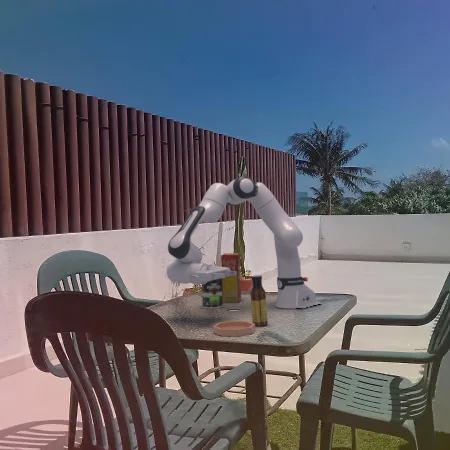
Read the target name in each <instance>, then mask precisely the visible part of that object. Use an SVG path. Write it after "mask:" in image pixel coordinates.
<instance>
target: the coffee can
mask: <svg viewBox="0 0 450 450" xmlns="http://www.w3.org/2000/svg"><path fill="white" fill-rule="evenodd" d="M201 300H202V301H201V302H202V303H201V305H202V306H201V308H202V309H208V310H209V309H210V310H213V309H221V308H223V307H224V305H223V304H224V303H222V278H220V279H216V280H212V281H208V282H207V283H206V284H201Z"/></svg>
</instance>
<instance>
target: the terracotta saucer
mask: <svg viewBox="0 0 450 450" xmlns="http://www.w3.org/2000/svg"><path fill="white" fill-rule="evenodd" d="M255 331H256V326H255V324H254V323H253V322H252V321H251V322H250V321H246V320H229V321H223V322H217V323H216V324H215V325H213V326H212V333H213V334H214V333H216V334H215V335H217V334H218V336H219V335H221V336H220V337H232V336H238V337H243V335H244V336H249V335H252V334H254V332H255Z"/></svg>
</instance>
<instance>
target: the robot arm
mask: <svg viewBox="0 0 450 450" xmlns="http://www.w3.org/2000/svg"><path fill="white" fill-rule="evenodd" d="M246 201H247V202H249V203H250V204H251V205H252V206H253V208H254V209H255V212H256V214H258V216H259V217H260V219H261V220H262V222H263V223H264V224H265V226H266V227H267V228H268V229H269V230H270V232H272V234H273V240H274V249H275V255H276V263H277V277H276V283H277V284H276V285H277V298H276V304H275V307H276V308H279V309H296V308H303V309H307V308H306V307H308V308H311V307H310V306H313V305H317V304H320V303H321V304H322V302H321V301H318V299H317V294H316V292H315V291H314V290H313V289H311V288H310V287H309V286H308V285H306V284H305V282H306V283H307V282H308V280H309V278H308V277H305V276H302V269H301V268H302V267H301V259H300V255H299V250H298V247H299V246H300V245H301V244H302V242H303V241H304V236H303V232H302V230H300V228H299V227H298V226H297V224H296V223H295V222H294V221H293V219H292V218H291V217H290V216H289V214H287V212H286V211H285V210H284V208H283V207H282V206H281V204H280V203H279V201H278V200H277V198H276V197H275V195H274V194H273V193H272V192H271V190H270V188H268V187H267V186H266V185H265V184H264V183H263V182H256V181H254V179H252V178H251V177H249V176H247V175H243V176H242V175H241V176H238V177H237V178H235V179H233V180H231V181H230V182H229V183H228V184H227V185H226V184H224V183H222V182H215V183H213V184H211V185H210V187H209V188H208V189H207V190H206V193H204V196H203V198H202V200H201V202H200V203H199V205H197V206H195V207H194V208H193V209H192V210H191V211H190V212H189V214H188V215H187V216H186V218H185V219H184V221H183V223H182V225H181V226H180V228H179V229H178V230H177V232H176V233H174V235H173V236H172V237H171V238H170V240H169V241H168V244H167V251H168V253H169V255H170V256H171V257H173V258H175V260H173V262H172V263H170V264H168V265H167V267H166V276H167V278H168V279H169V280H170V282H173V283H176V284H183V285H186V284H193V285H202V284H206V283H207V282H208V281H212V280H216V279H220V278H225V277H228V276H230V275H231V276H235V275H236V272H235V271H230V268H227V267H221V266H217V265H215V266H214V264H206V263H201V262H202V259H203V255H202V254H203V253H202V251H201V250H200V249H199V248H198V247H197V246H196V244H194V242H192V241H191V240H192V236H193V234H194V232H196V229H197V228H198V226H199V225H200V224H201V223H207V224H213V223H216V222H218V221H219V220H220V219H221V217H222V216H223V213H224V211H225V208H226V206H227V205H228V206H234V207H235V206H238V205H240V204H242V203H245V202H246ZM317 306H318V305H317ZM313 307H314V306H313Z"/></svg>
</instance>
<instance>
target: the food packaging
mask: <svg viewBox="0 0 450 450" xmlns="http://www.w3.org/2000/svg"><path fill="white" fill-rule="evenodd" d="M220 259H221V260H220V263H221V264H220V267H227V268H230V271H235V272H236V275H235V276H231V275H230V276H228V277H225V278H222V303H223V304H240V302H241V300H242V291H241V289H242V288H241V284H242V283H241V264H240V263H241V253H240V252H238V253H237V252H234V253H233V252H231V253H228V252H227V253H226V252H225V253H223V254H221V255H220Z"/></svg>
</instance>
